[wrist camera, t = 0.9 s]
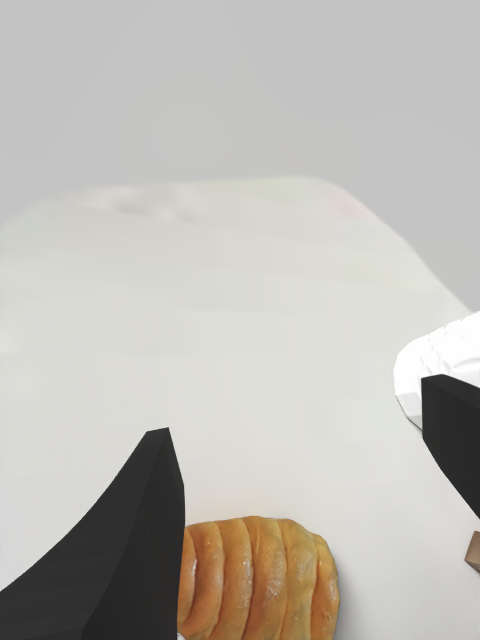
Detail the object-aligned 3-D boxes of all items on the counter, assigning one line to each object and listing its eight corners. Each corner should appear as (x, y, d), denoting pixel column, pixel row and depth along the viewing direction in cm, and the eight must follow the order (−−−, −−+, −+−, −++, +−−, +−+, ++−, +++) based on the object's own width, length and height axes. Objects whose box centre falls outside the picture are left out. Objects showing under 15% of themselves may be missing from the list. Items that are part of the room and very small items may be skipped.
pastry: (127, 643, 21) (138, 677, 18) (163, 493, 24) (178, 498, 20) (303, 662, 24) (342, 695, 20) (318, 524, 26) (356, 533, 23)
